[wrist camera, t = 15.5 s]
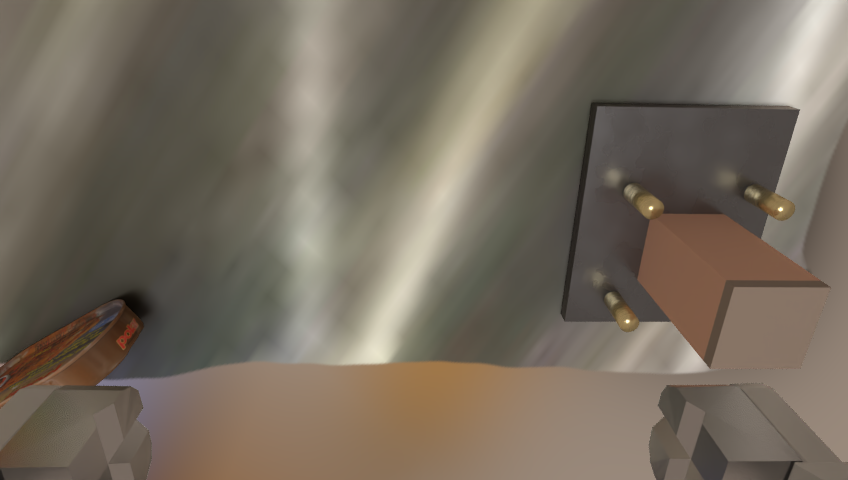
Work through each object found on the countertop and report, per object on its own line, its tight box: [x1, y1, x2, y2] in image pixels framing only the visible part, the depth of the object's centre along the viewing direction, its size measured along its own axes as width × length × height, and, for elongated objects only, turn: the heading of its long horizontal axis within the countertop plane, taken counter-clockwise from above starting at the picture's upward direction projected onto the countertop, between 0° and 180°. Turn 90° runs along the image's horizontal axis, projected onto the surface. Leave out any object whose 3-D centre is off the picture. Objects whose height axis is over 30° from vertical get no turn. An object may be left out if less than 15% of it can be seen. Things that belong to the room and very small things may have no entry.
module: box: [637, 214, 831, 369], centre depth 36 cm, size 6×6×11 cm
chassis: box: [561, 103, 800, 332], centre depth 39 cm, size 17×14×5 cm
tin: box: [0, 299, 144, 409], centre depth 40 cm, size 15×3×8 cm, turn 119°
